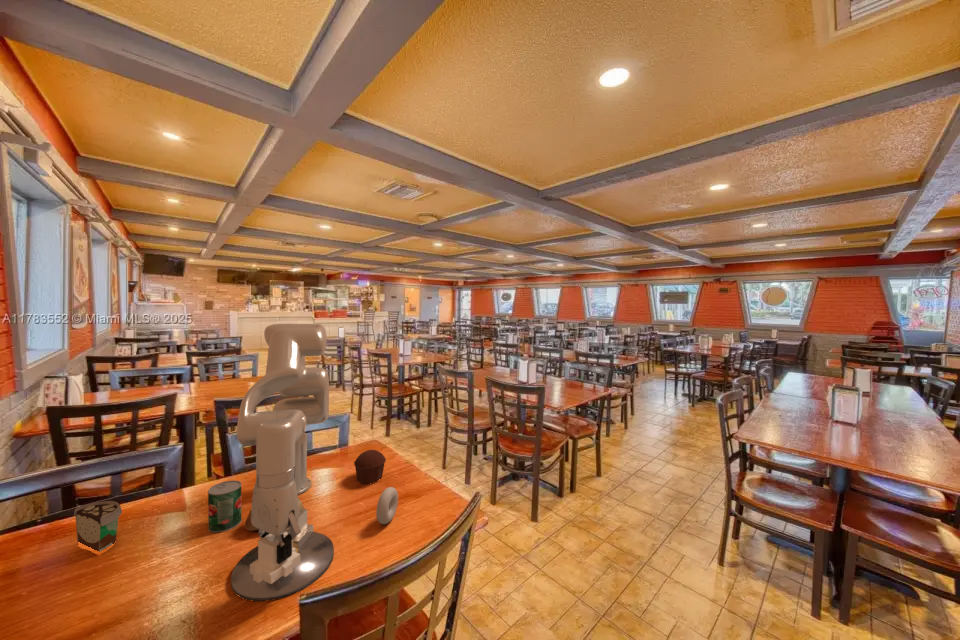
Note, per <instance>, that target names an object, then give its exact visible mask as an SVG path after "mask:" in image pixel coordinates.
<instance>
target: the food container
mask: <svg viewBox="0 0 960 640" xmlns="http://www.w3.org/2000/svg"><path fill="white" fill-rule="evenodd" d="M122 514H123V510H122V507H121V505H120V503H119V502H117V501H114V500H113V501H112V500H109V501H108V500H107V501H106V500H104V501H99V502H98V501H97V502H93V503H89V504H85V505H82V506H78V507H75V509H74V513H73V516H74V517H75V529H76V537H77V538H76V540H77V543H78V542H80V543H82V544H84V545H86V546H88V547H91V548H92V549H94V550H97V551H99V552H100V551H102V550H104V549H106V548H107V547H109V546H111V545H112V544H114V543H115V541H116V542H117V533H118V525H119V524H118V523H119V517H120V516H121V515H122ZM115 544H116V543H115Z"/></svg>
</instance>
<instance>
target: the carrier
mask: <svg viewBox="0 0 960 640" xmlns="http://www.w3.org/2000/svg"><path fill="white" fill-rule="evenodd" d="M298 525H299V527H300V530H301V533H299V534H298V535H296V536H295V537H294V539H293V547H294V548H296V553H299V554H300V563H299V564H298V565H297V566H295V567H294V568H293V572H292V573H290V574H289V575H288V576H286V577H284V576H282V577H280V578H279V579H277V580H276V581H275V582H273V583H272V584H270V583H268V582H266V581H264V580H262V581H261V582H260V583H258V582H256V581H254V580H253V575H252V574H250V564H251V563H253V562H254V561H256V560H258V545H256V546H255V547H254V548H251V550H250V551H248V552H247V553H246V554H244V555H243V556H242V557H241V558H240V559H239V561H238V562H237V563H236V564H235V566H234V568H233V569H232V572H231V576H230V584H231V586H232V587H231V590H232V589H233V590H232V592H233V591H234V592H235V593H236V594H237V595H239V596H240V597H242V598H244V599H247V600H246V601H248V600H253V601H252V602H255V601H263V602H267V601H266V600H271V601H274V600H273V599H276V600H279V598H280V599H283V598H286V597H289V596H292V595H294V594H297V593H299V592H300V591H302V590H304V589H306V588H308V587H310V586H311V585H313V584H314V583H315V582H317V581H318V580H319V579H320V578H321V577H322V576H323V575H324V574H325V573H326V572H327V570H329V568H330V566H331V564H332V562H333V559H334V552H335V549H334V548H335V547H334V543H333V541H332V539H330V538H329V536H327V535H325V534H323V533H320V532H318V531H314V524H309V523H308V508H304V509H299V508H298ZM286 532H287V531H286ZM234 592H233V593H234ZM296 592H297V593H296ZM235 593H234V594H235ZM236 594H235V595H236ZM237 595H236V596H237ZM240 597H239V598H240ZM242 598H241V599H242ZM244 599H243V600H244Z"/></svg>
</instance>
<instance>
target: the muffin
mask: <svg viewBox="0 0 960 640" xmlns="http://www.w3.org/2000/svg"><path fill="white" fill-rule="evenodd" d="M386 461H387V459H386V457H385V456H384V454H383V453H382V452H380V451H379V450H376V449H368V450H365V451H363V452H362V453H360V454H359V455H358V456H357V458H356V459H354V462H353V464H354V467H355V473H356V480H357V483H359V482H360V484H361V483H362V484H361V485H371V484H370V483H372V484H374V483H373V482H377V481H378V480H379V479H381V478H382V479H383V474H384V468H385V463H386ZM382 479H381V480H382ZM379 481H380V480H379ZM379 481H378V482H379ZM378 482H377V483H378Z"/></svg>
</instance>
